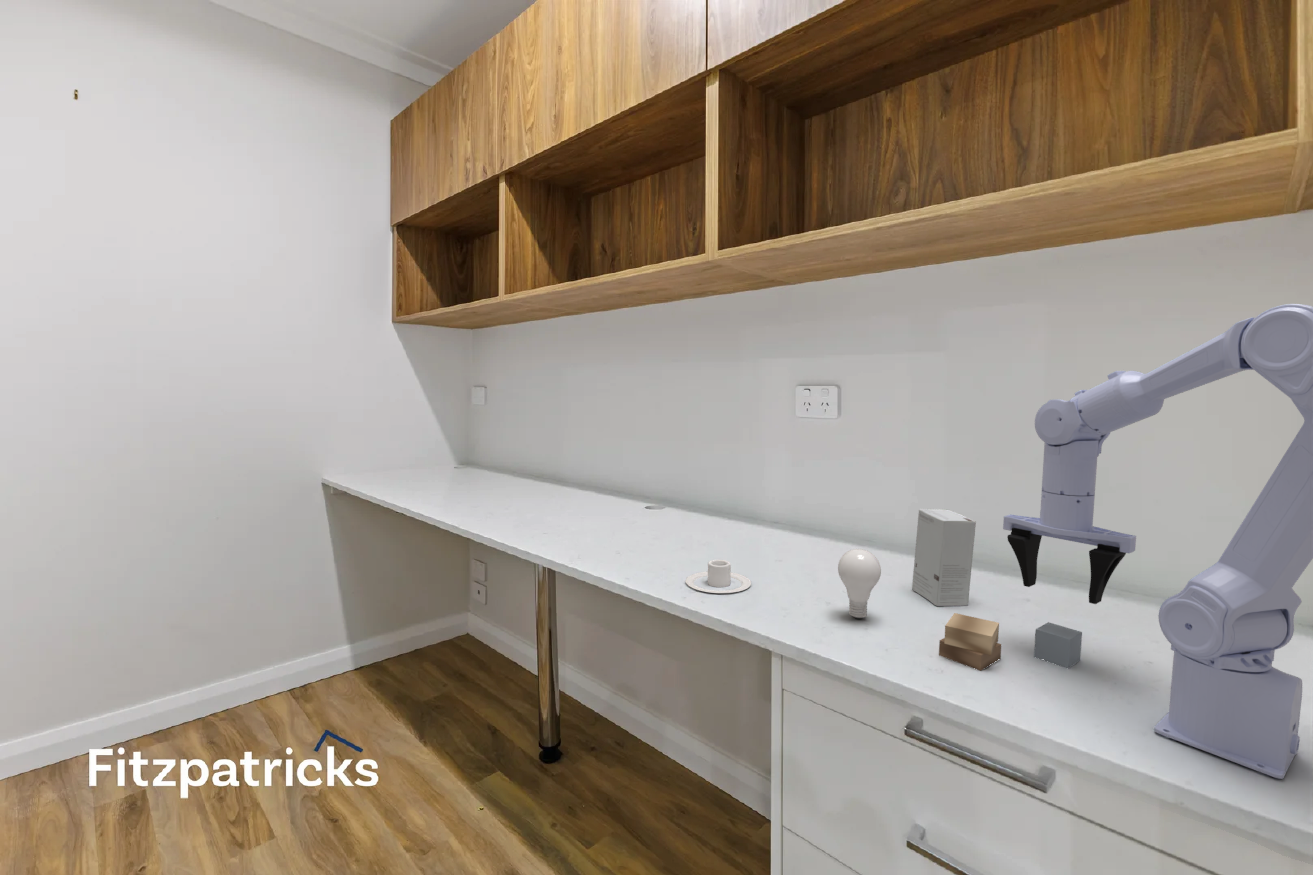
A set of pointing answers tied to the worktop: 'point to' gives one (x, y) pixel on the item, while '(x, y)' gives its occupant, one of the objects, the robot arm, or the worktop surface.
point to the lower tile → (969, 655)
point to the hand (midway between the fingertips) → (1060, 593)
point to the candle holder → (719, 577)
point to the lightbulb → (859, 579)
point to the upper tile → (972, 633)
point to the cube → (1058, 644)
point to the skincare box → (943, 557)
